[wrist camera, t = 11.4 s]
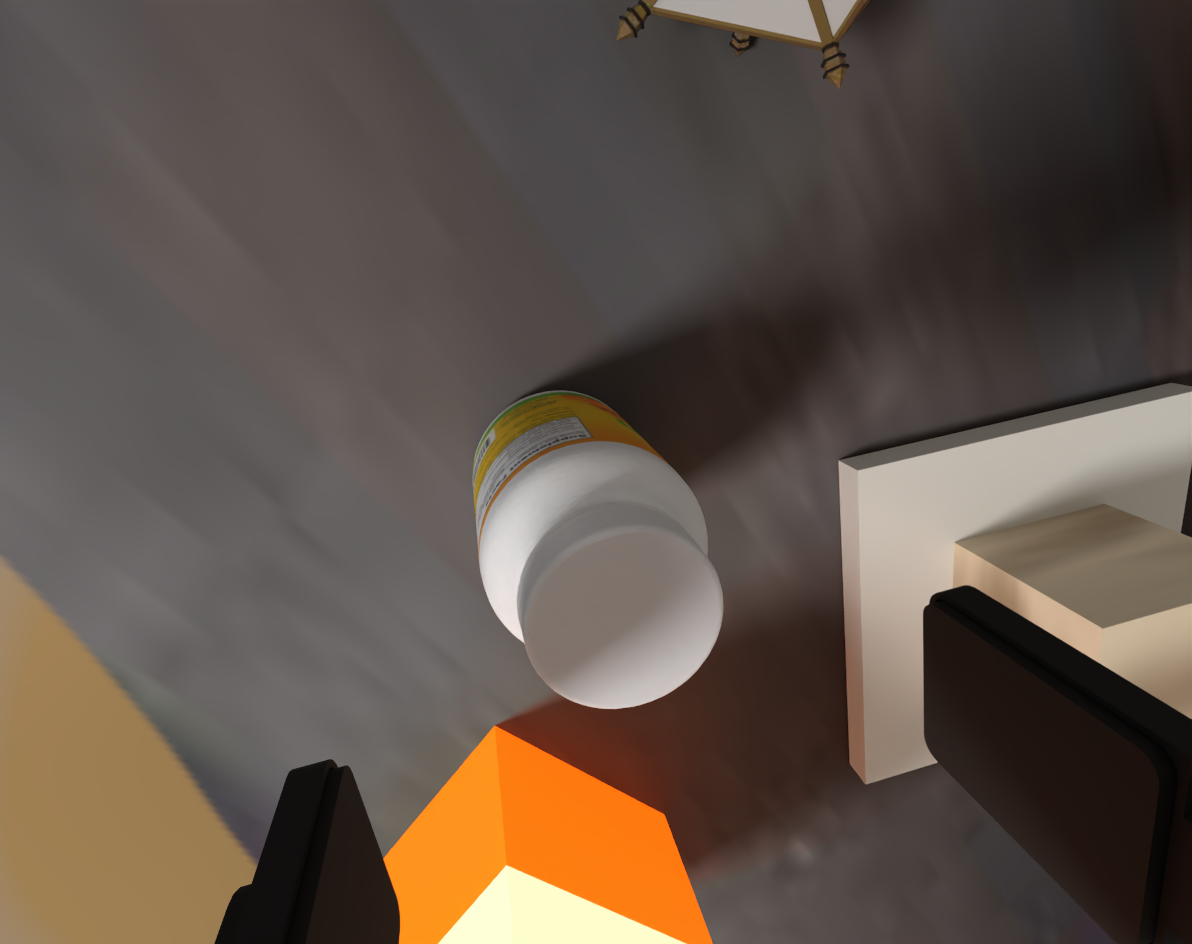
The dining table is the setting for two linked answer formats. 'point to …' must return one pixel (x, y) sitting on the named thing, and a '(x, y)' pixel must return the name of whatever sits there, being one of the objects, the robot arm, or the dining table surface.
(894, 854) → the dining table surface
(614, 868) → the orange juice
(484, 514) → the supplement bottle
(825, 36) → the game die
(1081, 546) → the beech block
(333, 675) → the dining table surface
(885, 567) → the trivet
